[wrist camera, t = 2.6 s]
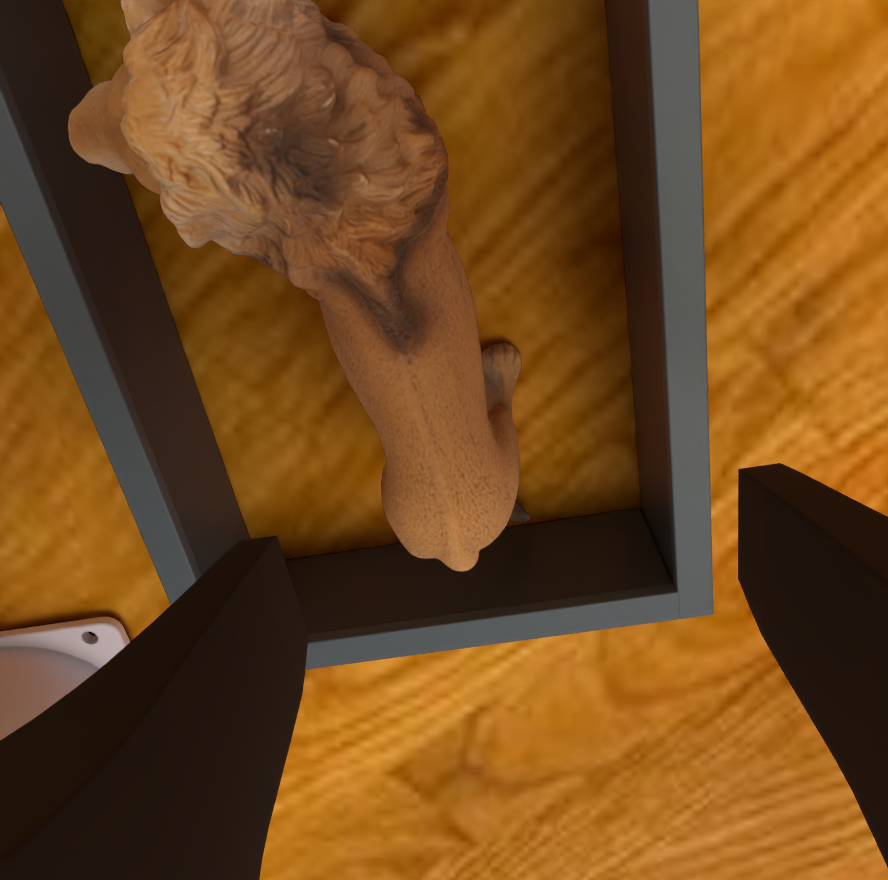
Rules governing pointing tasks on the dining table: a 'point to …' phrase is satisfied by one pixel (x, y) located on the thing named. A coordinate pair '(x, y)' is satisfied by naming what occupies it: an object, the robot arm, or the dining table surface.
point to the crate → (392, 567)
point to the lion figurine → (327, 231)
